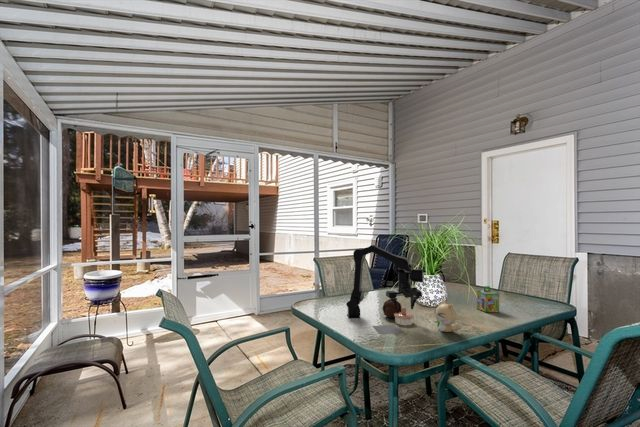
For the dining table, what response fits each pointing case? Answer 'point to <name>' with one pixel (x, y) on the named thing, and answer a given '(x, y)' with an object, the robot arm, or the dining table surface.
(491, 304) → the chalk box
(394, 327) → the mat
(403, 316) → the lid
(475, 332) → the dining table surface
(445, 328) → the kitten
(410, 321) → the bowl
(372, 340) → the dining table surface
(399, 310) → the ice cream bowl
